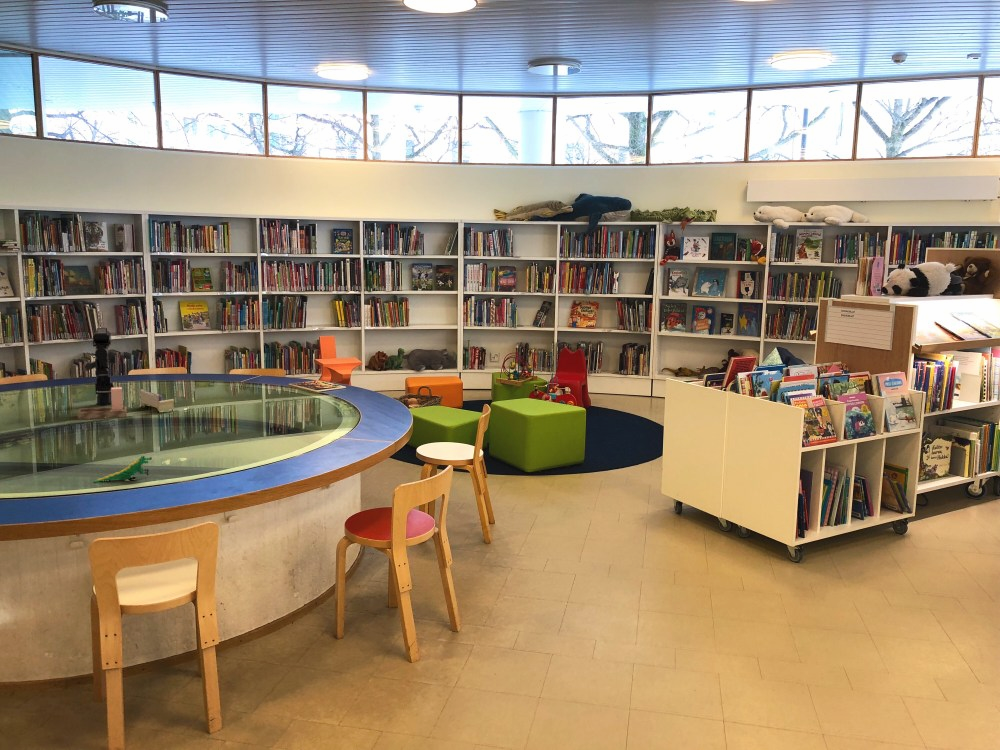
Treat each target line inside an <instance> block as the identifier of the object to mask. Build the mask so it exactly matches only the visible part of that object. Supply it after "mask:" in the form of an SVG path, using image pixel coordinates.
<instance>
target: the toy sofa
mask: <svg viewBox="0 0 1000 750" xmlns="http://www.w3.org/2000/svg"><path fill="white" fill-rule="evenodd" d="M139 399H140V407H141V406H147V405H150V407H153V408H156V409H157V411H163V410H169V409H174V410H175V406H174V405H175V404H174V402H175V398H170V399H166V400H163V399H162V395H161V394H158V393H157V394H156V393H155V392H154V393H153V392H149V391H148V390H145V389H140V395H139Z"/></svg>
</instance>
